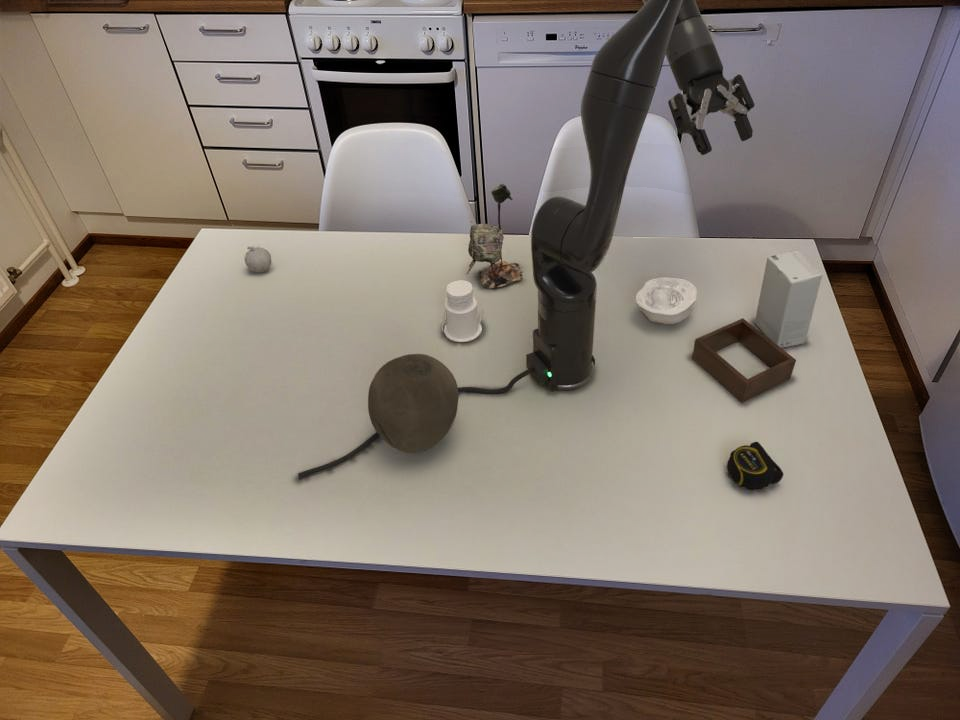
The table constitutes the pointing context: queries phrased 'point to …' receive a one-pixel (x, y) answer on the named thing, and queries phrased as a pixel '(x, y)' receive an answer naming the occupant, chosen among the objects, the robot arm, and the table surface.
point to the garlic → (258, 259)
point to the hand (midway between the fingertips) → (727, 146)
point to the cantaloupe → (413, 402)
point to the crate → (756, 344)
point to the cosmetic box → (787, 298)
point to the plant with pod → (492, 248)
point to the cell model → (667, 299)
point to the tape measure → (753, 467)
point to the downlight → (461, 313)
